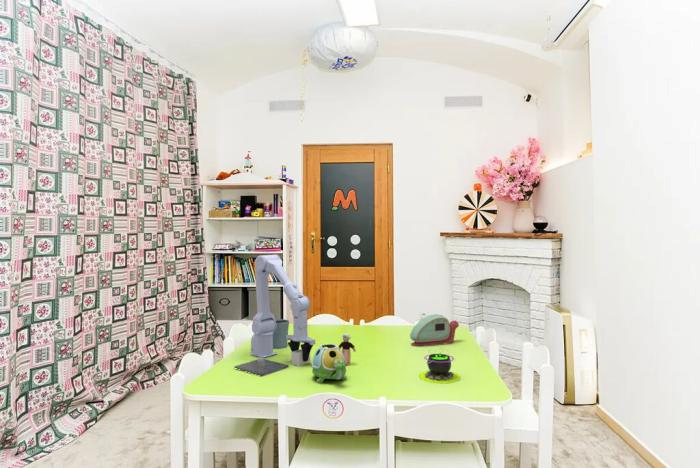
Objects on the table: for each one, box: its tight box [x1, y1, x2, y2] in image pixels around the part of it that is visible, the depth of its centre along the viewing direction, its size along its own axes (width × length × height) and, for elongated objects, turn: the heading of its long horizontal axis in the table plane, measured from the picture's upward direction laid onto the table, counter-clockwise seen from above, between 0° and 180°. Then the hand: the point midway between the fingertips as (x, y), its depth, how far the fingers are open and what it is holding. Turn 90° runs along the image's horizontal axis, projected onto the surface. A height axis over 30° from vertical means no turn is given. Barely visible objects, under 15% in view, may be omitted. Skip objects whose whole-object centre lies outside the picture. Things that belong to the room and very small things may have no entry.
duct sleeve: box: [290, 348, 311, 367], centre depth 189 cm, size 6×4×5 cm
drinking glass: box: [273, 318, 290, 350], centre depth 217 cm, size 10×10×12 cm
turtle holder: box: [311, 343, 348, 384], centre depth 168 cm, size 12×18×12 cm
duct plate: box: [233, 356, 290, 377], centre depth 183 cm, size 16×14×4 cm
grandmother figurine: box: [337, 332, 357, 366], centre depth 187 cm, size 8×4×13 cm, turn 82°
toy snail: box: [409, 313, 460, 347], centre depth 220 cm, size 25×8×14 cm, turn 107°
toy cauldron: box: [418, 348, 461, 384], centre depth 170 cm, size 15×15×11 cm
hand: (300, 359), depth 189 cm, fingers open, 5 cm apart
